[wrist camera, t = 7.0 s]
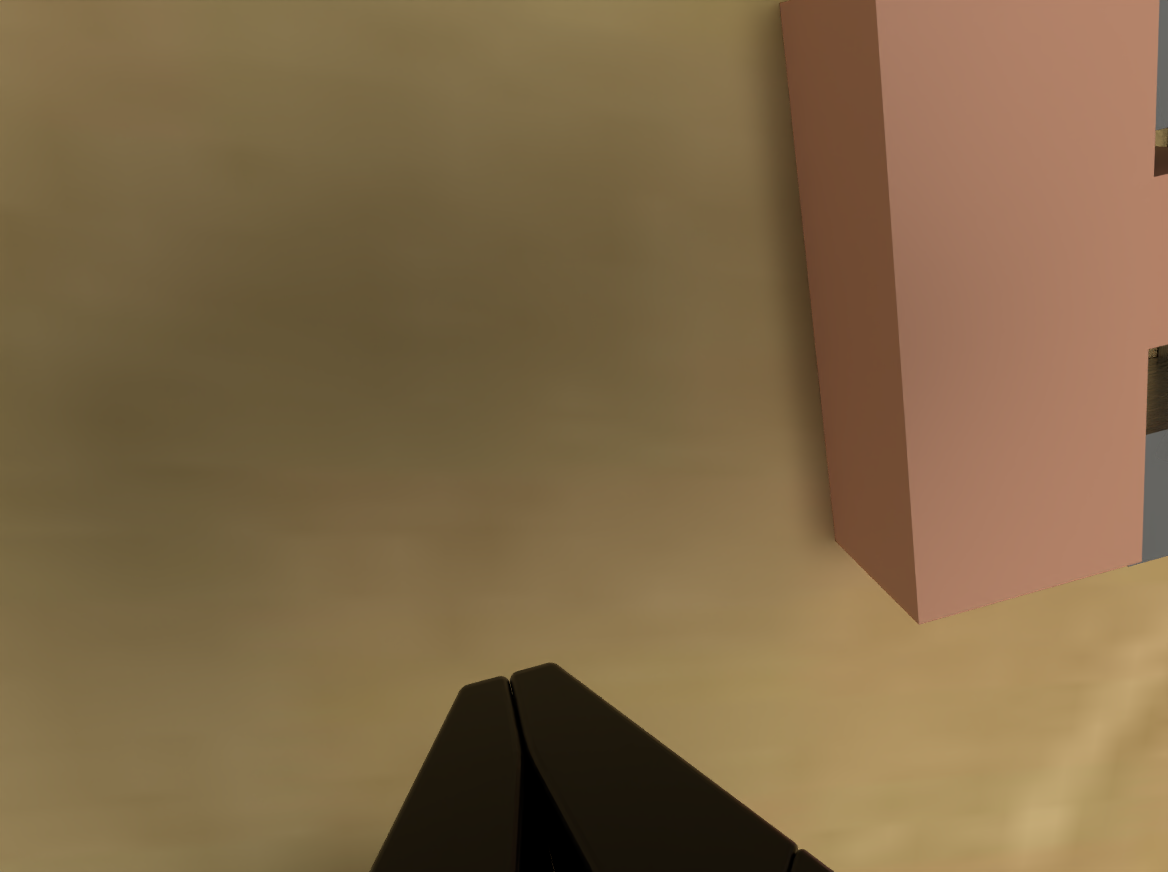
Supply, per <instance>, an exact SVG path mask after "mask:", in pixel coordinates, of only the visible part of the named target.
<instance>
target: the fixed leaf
mask: <svg viewBox="0 0 1168 872" xmlns="http://www.w3.org/2000/svg"><path fill="white" fill-rule="evenodd" d="M1163 128H1168V0H1159V30H1158V62H1157V94H1156V126H1155V130H1159V129H1163ZM1165 556H1168V344H1167V345H1163V346H1159V352H1158V357H1155V358H1151V359H1148V379H1147V411H1146V443H1145V475H1144V506H1143V538H1142V562H1139V563H1135V564H1132V565H1136V564H1140V563H1143V562H1147V561H1150V560H1154V559H1157V558H1161V557H1165ZM1132 565H1128V567H1129V566H1132Z"/></svg>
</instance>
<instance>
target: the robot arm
mask: <svg viewBox="0 0 1168 872" xmlns="http://www.w3.org/2000/svg"><path fill="white" fill-rule="evenodd" d="M510 684H511V686H510ZM511 689H512V690H511ZM512 693H513V694H512ZM550 854H551V855H550ZM551 858H552V859H551ZM553 867H554V868H553ZM554 871H555V872H834V871H832V870H831V869H830V868H828V867H827V866H826V865H824V864H823V863H822V862H820V861H819V860H818V859H816V858H815V857H814V856H813V855H811V854H810V853H809V852H807V851H806V850H804V849H800V850H798V846H797V845H796V844H795V842H793V841H792V840H791V839H789V838H788V837H787V836H785V835H784V834H783V833H781V832H780V831H779V830H777V829H776V828H775V827H773V826H772V825H771V824H769V823H768V822H767V821H765V820H764V819H763V818H761V817H760V816H759V815H757V814H756V813H755V812H753V811H752V810H751V809H749V808H748V807H747V806H745V805H744V804H743V803H741V802H740V801H739V800H737V799H736V798H735V797H733V796H732V795H731V794H729V793H728V792H727V791H725V790H724V789H723V788H721V787H720V786H718V785H717V784H716V783H714V782H713V781H712V780H710V779H709V778H708V777H706V776H705V775H704V774H702V773H701V772H700V771H698V770H697V769H696V768H694V767H693V766H692V765H690V764H689V763H688V762H686V761H685V760H684V759H682V758H681V757H680V756H678V755H677V754H676V753H674V752H673V751H672V750H670V749H669V748H668V747H666V746H665V745H664V744H662V743H661V742H660V741H658V740H657V739H656V738H654V737H653V736H652V735H650V734H649V733H648V732H646V731H645V730H644V729H642V728H641V727H640V726H638V725H637V724H636V723H634V722H633V721H632V720H630V719H629V718H628V717H626V716H625V715H624V714H622V713H621V712H620V711H618V710H617V709H616V708H614V707H613V706H612V705H610V704H609V703H608V702H606V701H605V700H604V699H602V698H601V697H600V696H598V695H597V694H596V693H594V692H593V691H592V690H590V689H589V688H588V687H586V686H585V685H584V684H582V683H581V682H580V681H578V680H577V679H576V678H574V677H573V676H572V675H570V674H569V673H568V672H566V671H565V670H564V669H562V668H561V667H560V666H558V665H557V664H555V663H546V664H542V665H539V666H535V667H531V668H528V669H524V670H520V671H517V672H515V673H513V674H512V676H511V678H510V682H509V680H508V679H507V678H506V677H503V676H498V677H494V678H491V679H487V680H483V681H480V682H476V683H472V684H468V685H465V686H464V687H463V688H462V689H461V690H460V691H459V693H458V695H457V697H456V699H455V701H454V703H453V705H452V707H451V709H450V711H449V713H448V715H447V717H446V719H445V721H444V723H443V725H442V727H441V729H440V731H439V733H438V735H437V737H436V739H435V741H434V743H433V745H432V747H431V749H430V751H429V753H428V755H427V757H426V759H425V761H424V763H423V765H422V767H421V769H420V771H419V773H418V775H417V777H416V779H415V781H414V783H413V785H412V787H411V789H410V791H409V793H408V795H407V797H406V799H405V801H404V803H403V805H402V807H401V810H400V812H399V814H398V816H397V818H396V820H395V822H394V824H393V826H392V828H391V830H390V832H389V834H388V836H387V838H386V840H385V842H384V844H383V846H382V848H381V850H380V852H379V854H378V856H377V858H376V860H375V862H374V864H373V866H372V868H371V870H370V872H554Z"/></svg>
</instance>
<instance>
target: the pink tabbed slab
mask: <svg viewBox="0 0 1168 872" xmlns="http://www.w3.org/2000/svg"><path fill="white" fill-rule="evenodd" d="M780 12H781V22H782V31H783V41H784V51H785V60H786V70H787V80H788V89H789V99H790V108H791V118H792V128H793V137H794V147H795V157H796V166H797V176H798V186H799V195H800V205H801V214H802V224H803V234H804V243H805V253H806V263H807V272H808V282H809V292H810V301H811V311H812V320H813V330H814V340H815V349H816V359H817V369H818V378H819V388H820V398H821V407H822V417H823V426H824V436H825V446H826V455H827V465H828V475H829V484H830V494H831V504H832V513H833V523H834V532H835V541H836V542H837V543H838V544H839V545H840V546H841V547H842V548H843V549H844V550H845V551H846V552H847V553H848V554H849V555H850V556H851V557H852V558H853V559H854V560H855V561H856V562H857V563H858V564H859V565H860V566H861V567H862V568H863V569H864V570H865V571H866V572H867V573H868V574H869V575H870V576H871V577H872V578H873V579H874V580H875V581H876V582H877V583H878V584H879V585H880V586H881V587H882V588H883V589H884V590H885V591H886V592H887V593H888V594H889V595H890V596H891V597H892V598H893V599H894V600H895V601H896V602H897V603H898V604H899V605H900V606H901V607H902V608H903V609H904V610H905V611H906V612H907V613H908V614H909V615H910V616H911V617H912V618H913V619H914V620H915V621H916V622H917V623H918V624H923V623H926V622H930V621H933V620H937V619H941V618H944V617H948V616H951V615H955V614H958V613H962V612H965V611H969V610H972V609H976V608H980V607H983V606H987V605H990V604H994V603H997V602H1001V601H1004V600H1008V599H1011V598H1015V597H1019V596H1022V595H1026V594H1029V593H1033V592H1036V591H1040V590H1043V589H1047V588H1050V587H1054V586H1058V585H1061V584H1065V583H1068V582H1072V581H1075V580H1079V579H1082V578H1086V577H1089V576H1093V575H1097V574H1100V573H1104V572H1107V571H1111V570H1114V569H1118V568H1121V567H1125V566H1128V565H1132V564H1135V563H1139V562H1142V538H1143V506H1144V475H1145V443H1146V411H1147V379H1148V349H1151V348H1155V347H1159V346H1163V345H1167V344H1168V147H1158V146H1155V126H1156V94H1157V62H1158V30H1159V0H789V1H785V2H782V3H780Z"/></svg>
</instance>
